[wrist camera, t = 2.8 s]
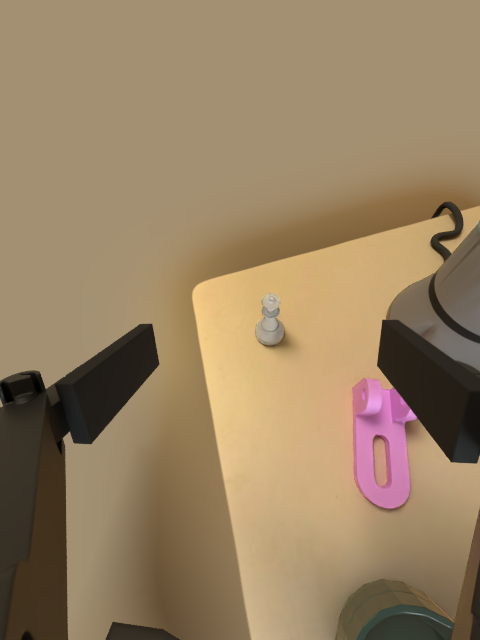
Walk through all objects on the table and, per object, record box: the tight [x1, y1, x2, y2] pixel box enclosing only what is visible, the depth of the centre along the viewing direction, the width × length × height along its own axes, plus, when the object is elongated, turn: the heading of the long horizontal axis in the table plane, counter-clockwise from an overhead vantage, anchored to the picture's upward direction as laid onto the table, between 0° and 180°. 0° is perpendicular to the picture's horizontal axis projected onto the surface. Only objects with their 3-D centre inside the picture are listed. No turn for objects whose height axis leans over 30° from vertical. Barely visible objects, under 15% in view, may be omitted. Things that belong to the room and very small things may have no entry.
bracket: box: [353, 378, 418, 509], centre depth 29 cm, size 13×6×7 cm, turn 170°
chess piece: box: [255, 293, 284, 346], centre depth 36 cm, size 4×4×10 cm
